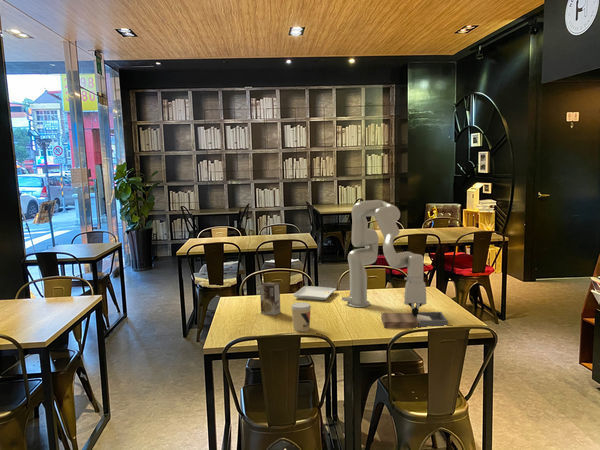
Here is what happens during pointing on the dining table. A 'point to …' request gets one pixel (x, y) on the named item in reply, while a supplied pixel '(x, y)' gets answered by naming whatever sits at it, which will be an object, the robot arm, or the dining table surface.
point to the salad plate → (314, 293)
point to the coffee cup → (301, 316)
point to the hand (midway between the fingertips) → (415, 315)
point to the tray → (433, 319)
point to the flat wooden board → (399, 320)
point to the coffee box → (270, 298)
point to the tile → (422, 318)
